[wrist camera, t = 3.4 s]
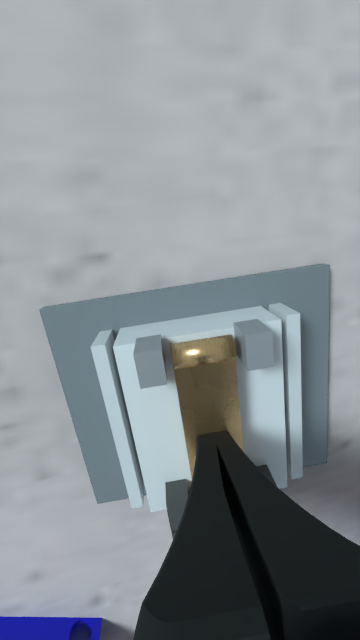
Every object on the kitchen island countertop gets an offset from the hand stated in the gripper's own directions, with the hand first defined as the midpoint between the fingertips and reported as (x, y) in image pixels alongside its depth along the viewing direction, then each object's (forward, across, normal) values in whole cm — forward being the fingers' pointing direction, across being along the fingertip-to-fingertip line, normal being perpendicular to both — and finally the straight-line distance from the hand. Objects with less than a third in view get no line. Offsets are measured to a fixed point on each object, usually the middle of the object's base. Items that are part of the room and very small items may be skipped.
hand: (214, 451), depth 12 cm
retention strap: (+1, 0, -1) cm, 1 cm away
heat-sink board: (+4, 0, -1) cm, 4 cm away
